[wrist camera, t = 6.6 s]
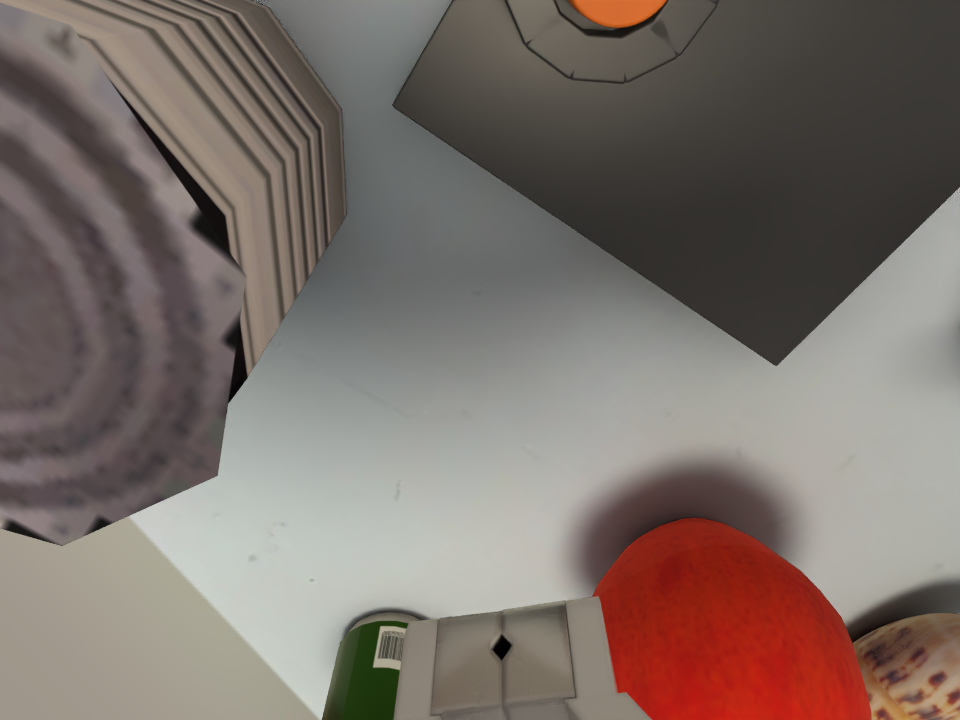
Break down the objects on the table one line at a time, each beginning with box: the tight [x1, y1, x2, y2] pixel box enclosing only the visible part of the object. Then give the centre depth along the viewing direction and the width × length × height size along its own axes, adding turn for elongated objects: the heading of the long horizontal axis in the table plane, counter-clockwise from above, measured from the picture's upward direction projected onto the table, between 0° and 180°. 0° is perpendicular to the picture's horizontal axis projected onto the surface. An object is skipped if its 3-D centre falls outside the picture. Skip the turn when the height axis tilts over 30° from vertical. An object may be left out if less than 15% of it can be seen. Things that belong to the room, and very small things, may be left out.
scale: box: [392, 0, 960, 366], centre depth 20 cm, size 16×13×3 cm
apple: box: [592, 518, 872, 720], centre depth 26 cm, size 10×10×12 cm
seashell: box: [853, 613, 960, 720], centre depth 33 cm, size 4×18×5 cm, turn 133°
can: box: [0, 0, 347, 546], centre depth 18 cm, size 11×11×12 cm
